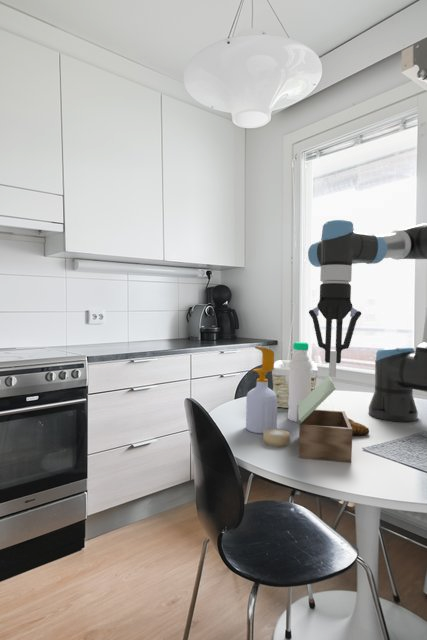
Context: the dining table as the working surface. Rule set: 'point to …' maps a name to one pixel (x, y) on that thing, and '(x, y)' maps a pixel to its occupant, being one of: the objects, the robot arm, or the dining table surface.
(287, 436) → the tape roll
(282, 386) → the storage basket
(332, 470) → the dining table surface
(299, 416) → the lid
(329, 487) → the dining table surface
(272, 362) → the soap bottle
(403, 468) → the dining table surface
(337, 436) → the box
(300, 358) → the water bottle
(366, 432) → the croissant
